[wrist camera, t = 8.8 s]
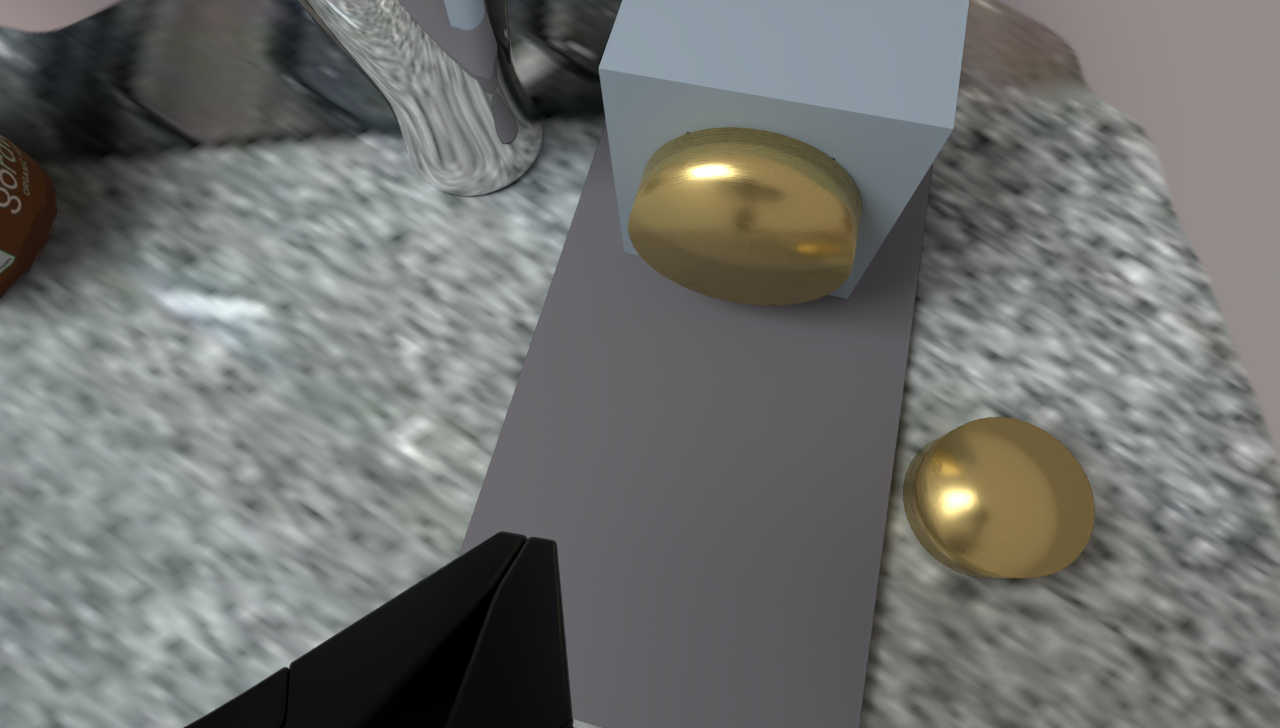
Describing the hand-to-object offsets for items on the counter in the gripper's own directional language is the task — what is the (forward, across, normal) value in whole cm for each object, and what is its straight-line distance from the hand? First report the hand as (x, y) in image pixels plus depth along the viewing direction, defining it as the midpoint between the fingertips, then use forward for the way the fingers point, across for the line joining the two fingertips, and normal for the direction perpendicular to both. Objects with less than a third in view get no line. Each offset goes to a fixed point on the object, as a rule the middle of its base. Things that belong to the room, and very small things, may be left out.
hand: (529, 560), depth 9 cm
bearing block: (+20, -3, -4) cm, 20 cm away
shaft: (+20, -3, -6) cm, 21 cm away
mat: (+15, -3, +3) cm, 15 cm away
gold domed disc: (+13, -12, +5) cm, 19 cm away
